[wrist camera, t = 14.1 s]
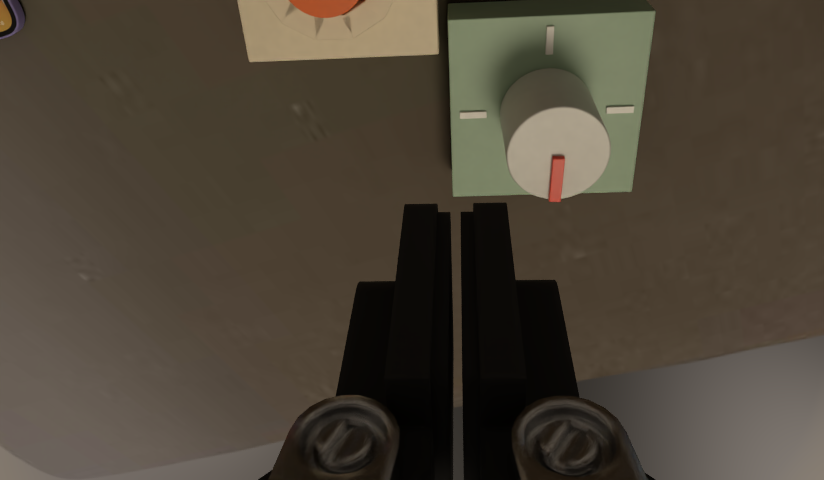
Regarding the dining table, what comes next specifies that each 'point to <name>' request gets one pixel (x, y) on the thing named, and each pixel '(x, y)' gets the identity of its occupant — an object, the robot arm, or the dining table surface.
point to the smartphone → (10, 18)
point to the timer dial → (553, 134)
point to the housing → (339, 30)
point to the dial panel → (539, 49)
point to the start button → (324, 7)
